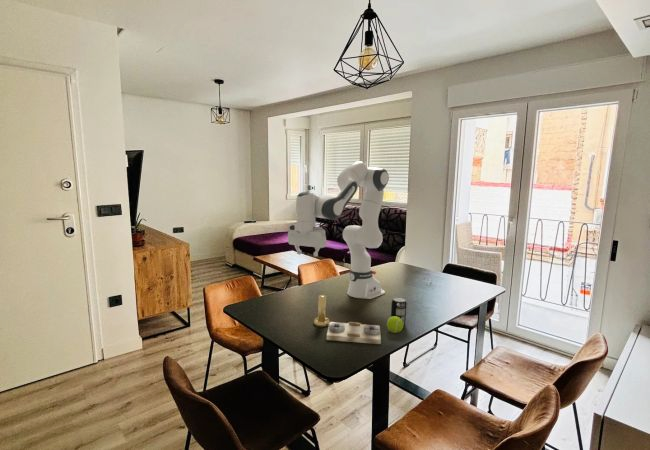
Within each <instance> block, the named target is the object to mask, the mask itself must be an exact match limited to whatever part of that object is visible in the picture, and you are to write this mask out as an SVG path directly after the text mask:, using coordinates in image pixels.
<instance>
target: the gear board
mask: <svg viewBox="0 0 650 450" xmlns="http://www.w3.org/2000/svg"><path fill="white" fill-rule="evenodd" d="M380 326H381V325H378V324H377V325H376V324H365V323H364V324H362V323H361V322H356V321H355V322H353V321H348V322H336V321H329V325H328V328H327V332H326V340H327V341H336V342H337V341H338V342H350V343H351V342H352V343H360V344H361V343H363V344H375V345H381V344H382V337H381V327H380Z"/></svg>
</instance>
